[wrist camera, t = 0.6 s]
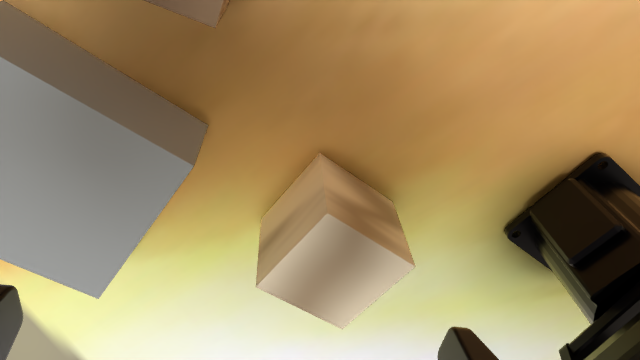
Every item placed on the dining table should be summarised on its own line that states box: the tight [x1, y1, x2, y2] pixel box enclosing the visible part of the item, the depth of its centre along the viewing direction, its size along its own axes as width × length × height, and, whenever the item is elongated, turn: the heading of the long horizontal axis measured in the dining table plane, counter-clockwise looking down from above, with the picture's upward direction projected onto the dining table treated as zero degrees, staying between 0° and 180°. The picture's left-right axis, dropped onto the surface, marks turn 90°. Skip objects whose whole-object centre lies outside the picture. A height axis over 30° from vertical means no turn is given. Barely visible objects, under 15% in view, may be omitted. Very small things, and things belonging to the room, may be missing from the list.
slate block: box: [0, 0, 208, 299], centre depth 19 cm, size 9×9×4 cm
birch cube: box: [256, 153, 415, 329], centre depth 21 cm, size 5×5×5 cm
